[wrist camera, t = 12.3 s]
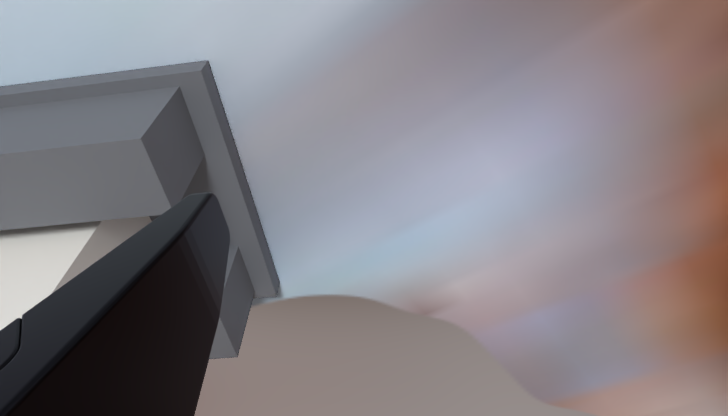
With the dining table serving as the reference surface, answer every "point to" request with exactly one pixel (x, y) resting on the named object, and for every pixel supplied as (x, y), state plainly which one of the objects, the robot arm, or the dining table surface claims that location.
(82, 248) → the grey block
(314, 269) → the dining table surface
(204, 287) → the robot arm
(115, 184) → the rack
